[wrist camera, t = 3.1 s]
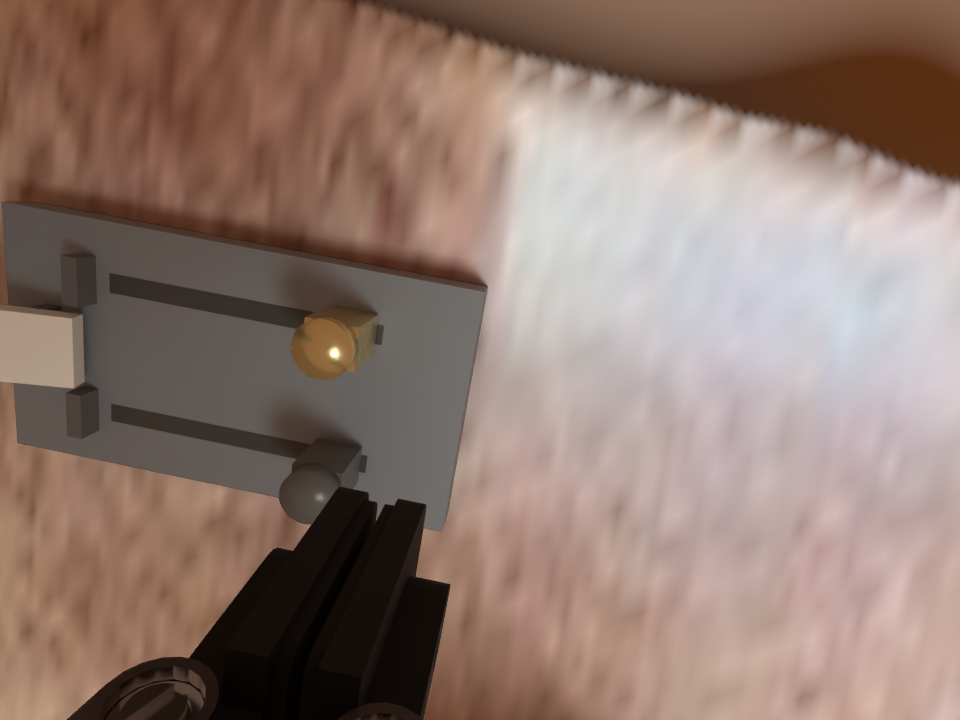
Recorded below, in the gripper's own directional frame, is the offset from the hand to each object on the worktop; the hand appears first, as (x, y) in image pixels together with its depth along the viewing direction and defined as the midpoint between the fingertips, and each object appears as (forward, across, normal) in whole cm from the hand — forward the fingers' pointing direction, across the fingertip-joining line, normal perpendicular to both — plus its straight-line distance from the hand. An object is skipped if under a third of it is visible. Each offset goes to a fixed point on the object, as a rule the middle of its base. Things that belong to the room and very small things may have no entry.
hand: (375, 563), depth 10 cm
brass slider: (+17, +6, 0) cm, 18 cm away
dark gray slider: (+17, +6, +7) cm, 19 cm away
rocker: (+15, +21, +4) cm, 27 cm away
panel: (+19, +12, +4) cm, 22 cm away
